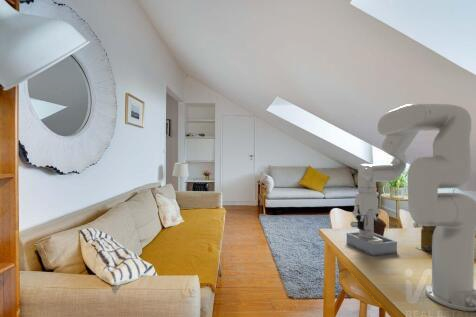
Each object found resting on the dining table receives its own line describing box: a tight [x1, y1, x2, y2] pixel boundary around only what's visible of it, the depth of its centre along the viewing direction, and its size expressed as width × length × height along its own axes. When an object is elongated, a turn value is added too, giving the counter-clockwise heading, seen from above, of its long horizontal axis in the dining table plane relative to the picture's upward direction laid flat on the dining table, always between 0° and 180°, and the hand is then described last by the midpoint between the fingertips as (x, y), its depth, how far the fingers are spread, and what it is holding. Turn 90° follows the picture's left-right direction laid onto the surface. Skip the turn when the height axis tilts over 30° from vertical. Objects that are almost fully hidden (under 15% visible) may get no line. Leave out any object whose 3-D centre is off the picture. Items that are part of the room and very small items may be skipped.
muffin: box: [374, 217, 387, 237], centre depth 132 cm, size 12×11×10 cm
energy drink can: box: [358, 209, 374, 240], centre depth 118 cm, size 6×6×15 cm
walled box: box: [346, 231, 398, 257], centre depth 116 cm, size 16×13×5 cm
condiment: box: [416, 225, 436, 255], centre depth 113 cm, size 7×8×12 cm
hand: (366, 228), depth 118 cm, fingers closed on energy drink can, 6 cm apart
